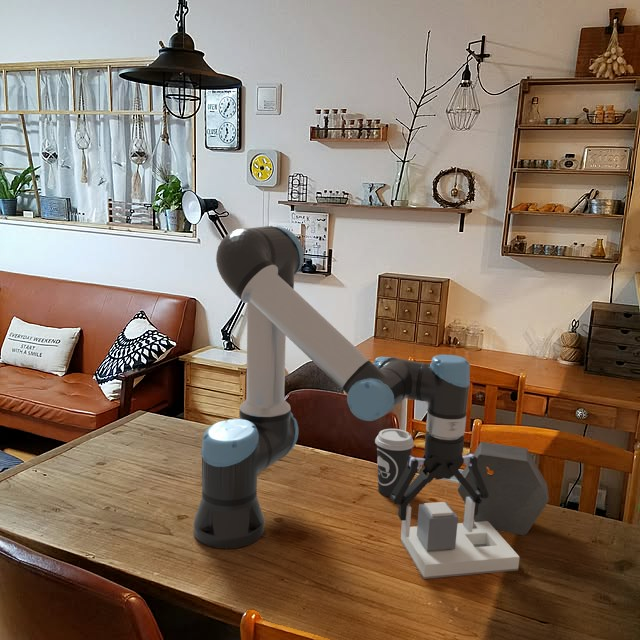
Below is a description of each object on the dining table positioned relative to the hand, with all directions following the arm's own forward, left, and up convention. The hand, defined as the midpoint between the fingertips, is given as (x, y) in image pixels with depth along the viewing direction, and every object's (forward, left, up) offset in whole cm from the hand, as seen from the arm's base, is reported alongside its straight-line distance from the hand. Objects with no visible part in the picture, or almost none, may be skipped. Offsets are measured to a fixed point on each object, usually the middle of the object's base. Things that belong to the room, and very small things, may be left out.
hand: (436, 531), depth 131 cm
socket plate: (+5, 0, -6) cm, 8 cm away
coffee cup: (0, +29, -6) cm, 30 cm away
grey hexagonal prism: (+20, +11, -6) cm, 24 cm away
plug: (0, 0, -5) cm, 5 cm away
